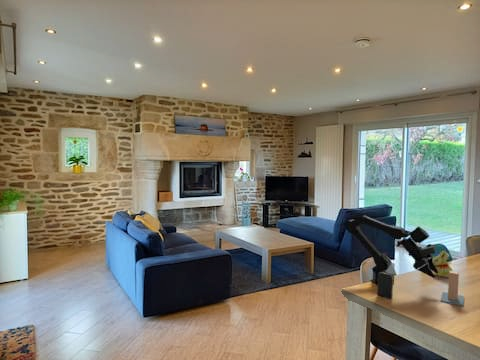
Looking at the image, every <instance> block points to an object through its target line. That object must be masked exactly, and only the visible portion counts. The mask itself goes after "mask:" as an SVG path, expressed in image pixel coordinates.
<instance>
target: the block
mask: <svg viewBox="0 0 480 360" xmlns="http://www.w3.org/2000/svg"><path fill="white" fill-rule="evenodd" d="M459 279H460V272H459V271H453V270H452V271H450V272H449V278H448V288H447V289H448V291H447V293H448V299H453V300H457V298H458V295H459V281H460V280H459Z"/></svg>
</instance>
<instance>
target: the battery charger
mask: <svg viewBox="0 0 480 360" xmlns="http://www.w3.org/2000/svg"><path fill="white" fill-rule="evenodd" d="M386 272H387V271H386ZM386 272H380V273H379V274H378V285H377V292H376V295H378V296H380V297H384V298H387V299H393V296H394V295H393V289H394V285H395V276H394V274H392V273H391V272H387V273H386Z"/></svg>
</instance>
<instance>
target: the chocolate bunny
mask: <svg viewBox="0 0 480 360" xmlns="http://www.w3.org/2000/svg"><path fill="white" fill-rule="evenodd" d="M450 256H451V255H450V254H449V253H447V251H446V250H442V251H441V252H440V253H438V255H437V256H433V263H434V265H435V267H436V268H437V270H438V273H435V272H434V271H433V274H434V275H435V276H438V277H443V278H448V279H449V272H450V271H453V269H452V267H451V266H450V265H449V264H448V262H447V260H448V259H449V258H450Z"/></svg>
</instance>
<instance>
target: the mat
mask: <svg viewBox="0 0 480 360" xmlns="http://www.w3.org/2000/svg"><path fill="white" fill-rule="evenodd" d="M440 302H441V303H446V304H449V305H451V304H452V305H455V306H459V307H464V302H465V296H464V295H460V294H458V298H457V300H453V299H448V292H445V291H442V293H441V297H440Z"/></svg>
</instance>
